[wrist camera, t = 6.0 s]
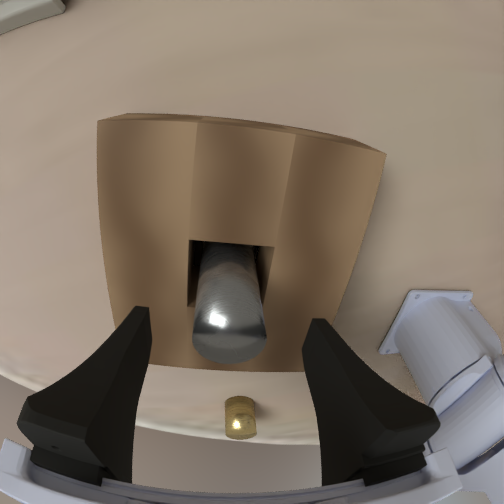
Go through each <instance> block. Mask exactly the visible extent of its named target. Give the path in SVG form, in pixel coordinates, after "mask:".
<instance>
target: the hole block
mask: <svg viewBox="0 0 504 504" xmlns="http://www.w3.org/2000/svg"><path fill="white" fill-rule="evenodd" d="M386 155H387V154H385V153H383V152H381V151H379V150H377V149H374V148H372V147H370V146H368V145H365V144H363V143H361V142H359V141H356V140H354V139H350V138H346V137H341V136H337V135H332V134H327V133H322V132H317V131H312V130H307V129H302V128H296V127H290V126H284V125H278V124H271V123H264V122H256V121H249V120H240V119H231V118H221V117H209V116H196V115H178V114H144V113H127V114H123V115H119V116H114V117H110V118H106V119H103V120H99V121H98V122H97V185H98V204H99V219H100V230H101V240H102V249H103V257H104V265H105V272H106V279H107V285H108V292H109V297H110V303H111V308H112V314H113V319H114V324H115V328H116V329H117V327H118V326H119V325H120V324H121V323H122V321H123V320H124V319H125V318H126V316H127V315H128V314H129V313H130V311H131V310H132V309H133V307H135V306H143V307H149V312H150V322H151V331H152V347H151V353H150V359H149V363H148V364H154V365H163V366H172V367H182V368H194V369H207V370H224V371H249V372H305V370H304V365H303V357H302V346H303V343H304V341H305V338H306V335H307V332H308V329H309V326H310V324H311V321H312V318H325V319H326V320H327V321H328V323H329V324H330V325H331V326H332V324H333V321H334V319H335V316H336V314H337V311H338V309H339V306H340V303H341V301H342V298H343V295H344V293H345V290H346V287H347V285H348V282H349V279H350V276H351V273H352V270H353V268H354V265H355V262H356V259H357V256H358V253H359V250H360V247H361V244H362V241H363V238H364V234H365V231H366V228H367V225H368V221H369V218H370V215H371V211H372V208H373V204H374V201H375V197H376V194H377V190H378V186H379V183H380V179H381V175H382V171H383V167H384V163H385V159H386ZM195 240H200V241H212V242H224V243H235V244H247V245H258V246H260V247H259V253H258V258H257V264H256V272H257V278H258V284H259V291H260V297H261V303H262V309H263V316H264V322H265V328H266V335H267V342H266V345H265V347H264V349H263V350H262V351H261V352H260V353H259V354H258V355H257V356H256V357H254V358H252V359H250V360H248V361H245V362H242V363H237V364H221V363H216V362H213V361H210V360H208V359H206V358H204V357H203V356H201V355H200V354H199V353H198V352H197V351H196V349H195V348H194V346H193V343H192V333H193V323H194V314H195V305H196V297H197V289H198V281H199V273H200V266H194V245H195Z"/></svg>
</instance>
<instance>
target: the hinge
mask: <svg viewBox="0 0 504 504" xmlns="http://www.w3.org/2000/svg"><path fill="white" fill-rule="evenodd" d="M65 7H66V6H65V5H64V4H63V3H62V1H61V0H0V35H1V34H3V33H5V32H8V31H10V30H13V29H15V28H18V27H21V26H23V25H26V24H29V23H32V22H35V21H38V20H41V19H44V18H47V17H51V16H54V15H58V14H61V13H63V12H64V10H65Z"/></svg>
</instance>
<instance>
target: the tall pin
mask: <svg viewBox="0 0 504 504" xmlns="http://www.w3.org/2000/svg"><path fill="white" fill-rule="evenodd" d="M266 342H267V335H266V328H265V322H264V316H263V309H262V303H261V297H260V291H259V284H258V278H257V272H256V265H255V259H254V253H253V247H252V245H247V244H235V243H224V242H212V241H204V243H203V250H202V258H201V265H200V273H199V281H198V289H197V297H196V305H195V314H194V323H193V333H192V343H193V346H194V348H195V349H196V351H197V352H198V353H199V354H200V355H201V356H203V357H204V358H206V359H208V360H210V361H213V362H216V363H221V364H237V363H242V362H245V361H248V360H250V359H252V358H254V357H256V356H257V355H258V354H259V353H260V352H261V351H262V350H263V349H264V347H265V345H266Z"/></svg>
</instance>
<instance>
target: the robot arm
mask: <svg viewBox="0 0 504 504" xmlns="http://www.w3.org/2000/svg"><path fill="white" fill-rule="evenodd" d="M472 297H473V293H472V292H471V291H444V290H411V291H410V292H409V293H408V294H407V297H406V299H405V301H404V303H403V305H402V307H401V309H400V311H399V313H398V315H397V317H396V319H395V321H394V323H393V325H392V326H391V328H390V330H389V332H388V334H387V336H386V338H385V339H384V341H383V343H382V345H381V347H380V348H379V353H380V354H393V353H400V354H401V356H402V358H403V360H404V362H405V363H406V365H407V367H408V369H409V371H410V373H411V375H412V377H413V379H414V381H415V383H416V385H417V387H418V389H419V391H420V393H421V395H422V397H423V399H424V401H425V403H426V405H425V404H423V403H420V402H418V401H416V400H414V399H413V398H411V397H409V396H407V395H406V394H404V393H402V392H401V391H399V390H398V389H396V388H395V387H393V386H392V385H391V384H389V383H388V382H386V381H385V380H384V379H383V378H381V377H380V376H379V375H378V374H377V373H375V372H374V371H373V370H372V369H371V368H370V367H369V366H367V365H366V364H365V363H364V362H363V361H362V360H361V359H360V358H359V357H358V356H357V355H356V354H355V352H354V351H353V350H352V349H351V348H350V347H349V346H348V345H347V344H346V343H345V341H344V340H343V339H342V338H341V337H340V336H339V334H338V333H337V332H336V331H335V330H334V328H333V327H332V326H331V325H330V324H329V323H328V321H327V320H326V319H325V318H312V321H311V324H310V326H309V329H308V332H307V335H306V338H305V341H304V343H303V346H302V357H303V365H304V370H305V374H306V378H307V381H308V385H309V389H310V392H311V396H312V400H313V403H314V407H315V411H316V416H317V424H318V431H319V440H320V449H321V466H322V487H315V488H308V489H300V490H290V491H279V492H264V493H205V492H190V491H179V490H170V489H161V488H155V487H148V486H142V485H136V484H132V455H133V439H134V429H135V420H136V412H137V406H138V401H139V397H140V393H141V389H142V385H143V382H144V378H145V374H146V371H147V367H148V363H149V359H150V353H151V347H152V331H151V322H150V312H149V307H143V306H135V307H133V309H132V310H131V311H130V313H129V314H128V315H127V316H126V318H125V319H124V320H123V321H122V323H121V324H120V325H119V326H118V327H117V329H116V330H115V331H114V332H113V333H112V334H111V336H110V337H109V338H108V339H107V340H106V341H105V342H104V343H103V344H102V345H101V346H100V347H99V348H98V349H97V350H96V351H95V352H94V353H93V354H92V355H91V356H90V357H89V358H88V359H87V360H85V361H84V362H83V363H82V364H81V365H79V366H78V367H77V368H76V369H74V370H73V371H72V372H70V373H69V374H68V375H66V376H65V377H63V378H62V379H60V380H59V381H57V382H55V383H54V384H52V385H51V386H49V387H47V388H45V389H43V390H41V391H39V392H37V393H35V394H33V395H31V396H28V397H27V399H26V401H25V403H24V405H23V408H22V410H21V413H20V415H19V418H18V421H17V425H18V428H19V429H20V431H21V432H22V433H23V434H24V435H25V436H26V437H27V438H28V439H29V440H30V441H31V442H32V443H33V444H34V447H33V450H30V449H29V448H27V447H25V446H23V445H20V444H18V443H16V442H14V441H12V440H9V439H7V438H5V440H4V442H3V445H2V448H1V451H0V491H2V492H3V493H5V494H7V495H8V496H10V497H12V498H14V499H15V500H17V501H19V502H21V503H23V504H434V503H436V502H438V501H440V500H442V499H444V498H446V497H447V496H449V495H451V494H453V493H455V492H456V491H469V492H470V491H471V492H485V493H486V495H487V497H488V499H489V501H490V503H491V504H504V439H503V440H501V441H500V442H499V443H498V444H496V445H495V446H494V447H493V448H491V449H490V450H489V451H487V452H486V453H484V454H483V455H481V454H482V453H483V452H485V451H486V450H488V449H489V448H490V447H492V446H493V445H494V444H495V443H497V442H498V441H499V440H500V439H502V438H503V437H504V355H502V347H501V342H500V339H499V337H498V335H497V334H496V332H495V331H494V330H493V328H492V327H491V326H490V325H489V323H488V322H487V321H486V320H485V318H484V317H483V316H482V315H481V314H480V312H479V311H478V310H477V309H476V308H475V306H474V305H473V304H472V303H471V302H470V300H471V298H472ZM479 455H481V456H479ZM478 456H479V457H478Z"/></svg>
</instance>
